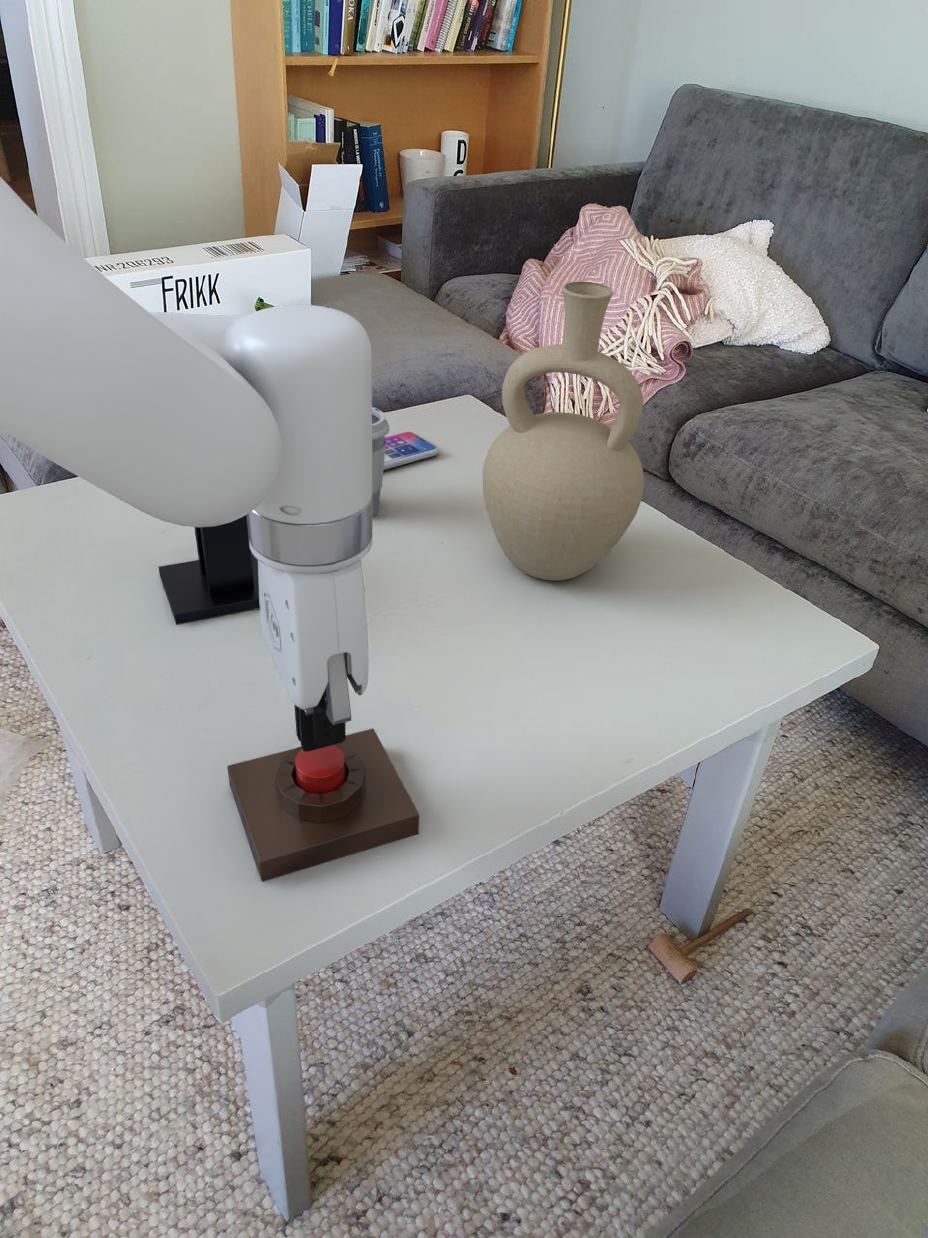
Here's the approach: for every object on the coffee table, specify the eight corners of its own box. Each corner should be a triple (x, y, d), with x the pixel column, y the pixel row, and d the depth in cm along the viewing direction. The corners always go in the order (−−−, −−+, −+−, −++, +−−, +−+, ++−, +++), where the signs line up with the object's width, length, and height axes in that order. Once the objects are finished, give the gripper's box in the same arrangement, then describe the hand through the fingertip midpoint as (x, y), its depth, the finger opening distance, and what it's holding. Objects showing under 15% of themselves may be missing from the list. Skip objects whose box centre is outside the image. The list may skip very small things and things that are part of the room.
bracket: (176, 624, 88) (158, 508, 81) (159, 576, 95) (141, 464, 87) (297, 601, 93) (291, 488, 85) (273, 556, 99) (266, 447, 92)
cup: (400, 514, 108) (402, 419, 101) (354, 531, 104) (353, 433, 97) (363, 491, 112) (363, 398, 105) (318, 506, 108) (315, 411, 101)
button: (304, 799, 66) (303, 782, 65) (290, 766, 69) (289, 749, 68) (351, 786, 68) (351, 769, 67) (336, 754, 70) (335, 737, 69)
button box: (261, 882, 65) (257, 845, 62) (229, 785, 72) (224, 748, 70) (418, 834, 69) (420, 797, 67) (373, 747, 76) (373, 711, 74)
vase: (459, 591, 96) (480, 302, 78) (493, 516, 109) (517, 254, 91) (618, 621, 93) (676, 329, 76) (632, 540, 106) (685, 276, 89)
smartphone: (314, 454, 117) (410, 429, 125) (315, 461, 118) (410, 435, 126) (345, 476, 113) (442, 448, 120) (345, 483, 113) (442, 455, 121)
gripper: (220, 475, 60) (245, 689, 70) (283, 599, 49) (300, 829, 60) (331, 458, 62) (338, 667, 73) (413, 573, 52) (407, 797, 62)
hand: (321, 739), depth 66 cm, fingers closed
